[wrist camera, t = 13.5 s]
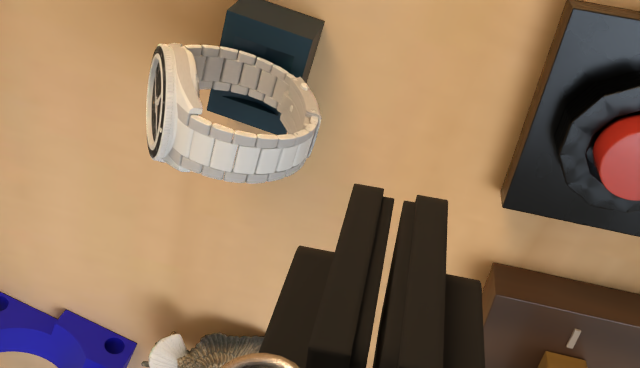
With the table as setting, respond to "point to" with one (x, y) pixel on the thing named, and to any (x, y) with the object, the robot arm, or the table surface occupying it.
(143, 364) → the eagle figurine
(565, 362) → the tan bar
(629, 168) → the button
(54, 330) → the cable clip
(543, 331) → the panel
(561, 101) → the button block
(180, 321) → the table surface
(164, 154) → the watch
